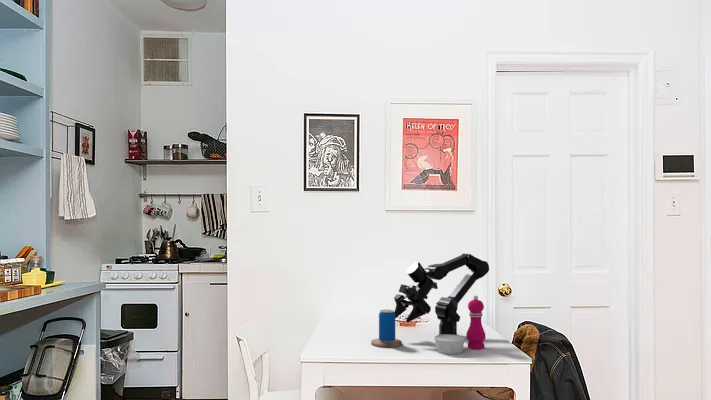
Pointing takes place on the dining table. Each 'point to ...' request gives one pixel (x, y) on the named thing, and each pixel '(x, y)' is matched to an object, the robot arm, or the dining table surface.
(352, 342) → the dining table surface
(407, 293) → the robot arm
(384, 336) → the beverage can
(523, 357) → the dining table surface
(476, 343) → the pepper mill
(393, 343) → the walnut coaster
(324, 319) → the dining table surface
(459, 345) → the ramekin
